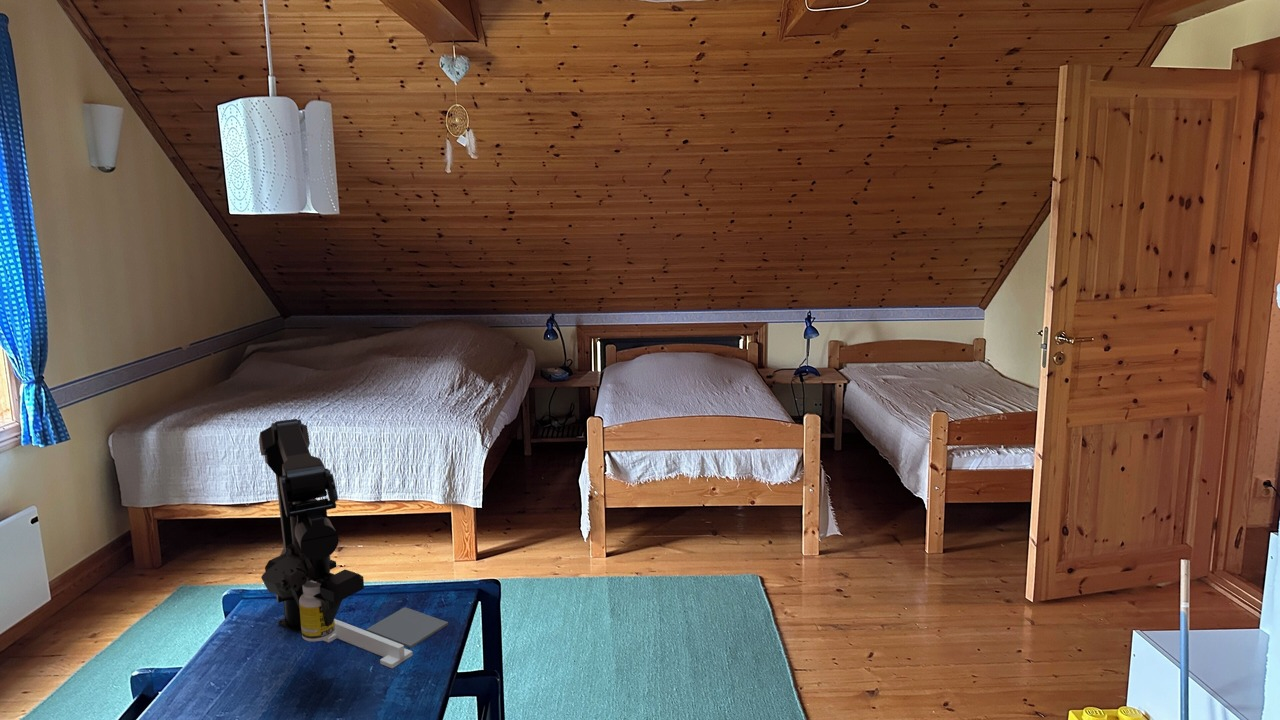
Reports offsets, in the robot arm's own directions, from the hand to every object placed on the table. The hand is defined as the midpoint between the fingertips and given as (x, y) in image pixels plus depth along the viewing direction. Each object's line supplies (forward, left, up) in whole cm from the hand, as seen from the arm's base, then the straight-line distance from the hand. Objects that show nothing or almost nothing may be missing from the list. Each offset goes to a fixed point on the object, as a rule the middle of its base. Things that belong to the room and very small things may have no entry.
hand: (317, 620), depth 142 cm
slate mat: (0, +20, -11) cm, 23 cm away
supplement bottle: (0, 0, -3) cm, 3 cm away
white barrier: (-2, +11, -11) cm, 16 cm away
